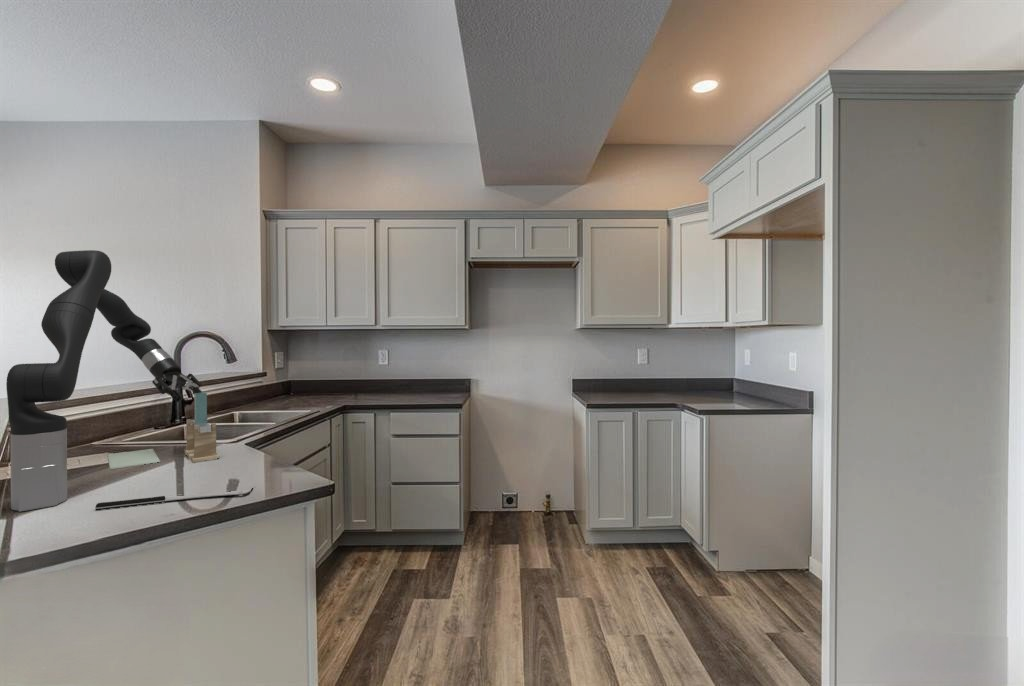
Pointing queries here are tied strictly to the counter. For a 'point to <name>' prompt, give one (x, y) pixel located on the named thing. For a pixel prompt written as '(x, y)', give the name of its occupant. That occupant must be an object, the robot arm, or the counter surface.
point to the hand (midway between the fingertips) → (191, 398)
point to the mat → (132, 458)
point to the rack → (200, 443)
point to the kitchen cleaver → (159, 500)
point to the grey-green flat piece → (201, 413)
